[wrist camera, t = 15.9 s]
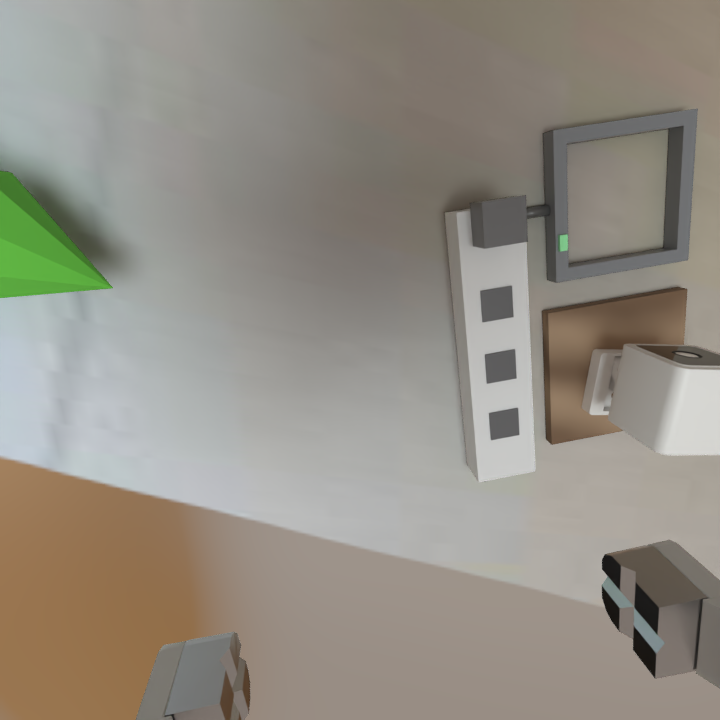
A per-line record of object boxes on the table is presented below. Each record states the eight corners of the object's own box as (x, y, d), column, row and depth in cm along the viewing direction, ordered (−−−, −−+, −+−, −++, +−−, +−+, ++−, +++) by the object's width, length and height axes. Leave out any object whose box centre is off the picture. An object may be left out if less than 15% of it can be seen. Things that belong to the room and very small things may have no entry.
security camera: (661, 332, 40) (771, 369, 31) (643, 409, 42) (741, 466, 33) (591, 331, 40) (682, 368, 30) (576, 409, 42) (656, 467, 32)
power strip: (443, 205, 36) (467, 204, 31) (552, 188, 37) (592, 184, 32) (467, 464, 43) (489, 498, 38) (558, 447, 44) (591, 478, 39)
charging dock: (543, 133, 36) (555, 129, 34) (682, 112, 36) (700, 107, 35) (547, 280, 39) (558, 283, 37) (674, 258, 40) (691, 260, 38)
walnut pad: (542, 310, 40) (548, 313, 39) (678, 287, 41) (687, 288, 40) (546, 439, 43) (551, 444, 42) (670, 415, 44) (678, 419, 43)
